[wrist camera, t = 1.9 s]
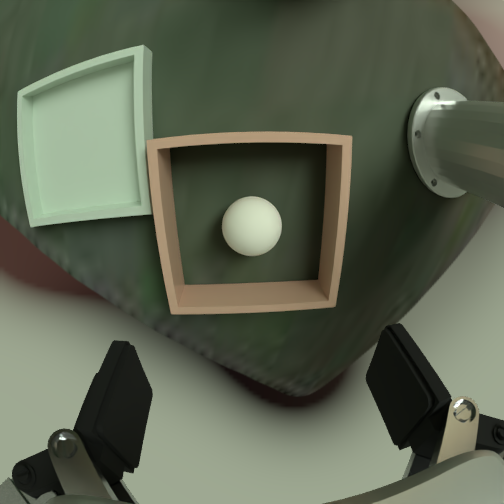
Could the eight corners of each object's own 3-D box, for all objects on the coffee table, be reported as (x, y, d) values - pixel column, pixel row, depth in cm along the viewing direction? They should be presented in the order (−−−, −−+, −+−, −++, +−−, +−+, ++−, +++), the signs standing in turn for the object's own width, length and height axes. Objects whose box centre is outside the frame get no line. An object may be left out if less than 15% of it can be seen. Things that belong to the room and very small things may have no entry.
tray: (152, 52, 18) (143, 44, 16) (159, 206, 24) (151, 214, 22) (31, 92, 17) (17, 91, 15) (43, 219, 24) (30, 227, 21)
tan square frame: (335, 135, 22) (352, 136, 19) (324, 285, 29) (335, 307, 25) (160, 138, 22) (146, 140, 18) (178, 291, 28) (171, 314, 24)
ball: (277, 190, 24) (287, 204, 20) (277, 241, 26) (285, 265, 22) (222, 191, 24) (218, 206, 20) (224, 243, 26) (222, 267, 22)
